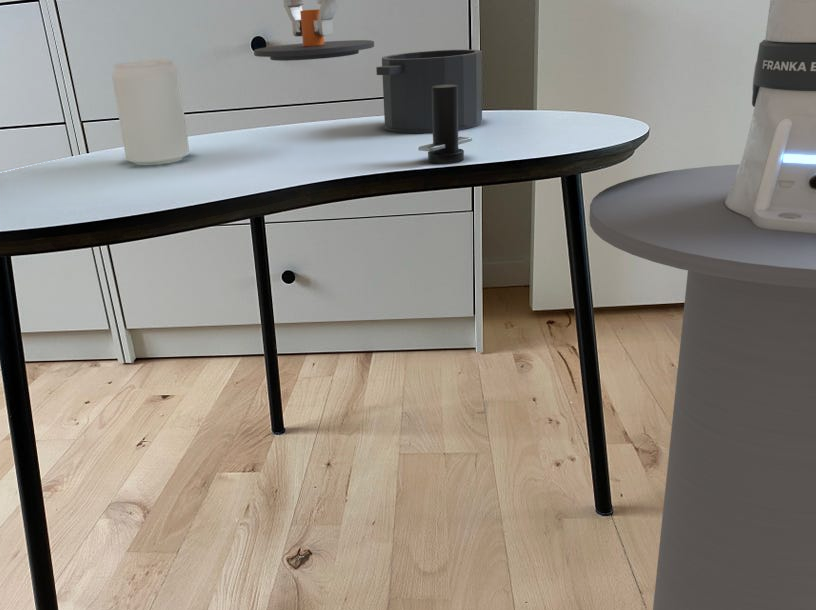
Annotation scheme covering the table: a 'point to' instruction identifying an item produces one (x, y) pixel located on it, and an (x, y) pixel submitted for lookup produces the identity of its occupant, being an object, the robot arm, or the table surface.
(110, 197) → the table surface
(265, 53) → the lid
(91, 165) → the table surface
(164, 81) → the beverage can
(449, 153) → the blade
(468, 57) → the pot
